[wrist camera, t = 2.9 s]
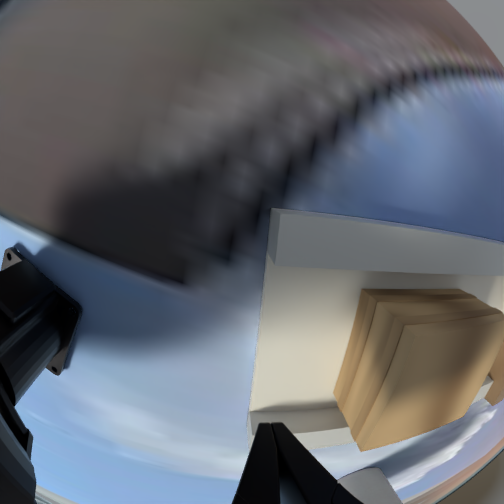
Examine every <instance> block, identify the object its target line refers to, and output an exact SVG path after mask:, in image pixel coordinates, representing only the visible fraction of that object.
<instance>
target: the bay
mask: <svg viewBox="0 0 504 504" xmlns="http://www.w3.org/2000/svg"><path fill="white" fill-rule="evenodd" d="M361 289H461V290H463V291H465V292H467V293H468V294H469V293H470V294H472V295H474V296H476V297H477V299H479V300H481V301H482V302H484V303H486V304H488V305H489V306H491V307H493V308H497V309H498V310H500V311H502V312H503V314H504V242H501V241H496V240H491V239H487V238H482V237H477V236H472V235H466V234H461V233H456V232H450V231H444V230H439V229H433V228H427V227H421V226H415V225H408V224H402V223H395V222H388V221H381V220H374V219H367V218H359V217H351V216H343V215H335V214H326V213H317V212H308V211H299V210H289V209H278V208H271V212H270V222H269V232H268V242H267V252H266V262H265V272H264V281H263V291H262V300H261V309H260V318H259V327H258V336H257V345H256V353H255V362H254V370H253V379H252V387H251V395H250V403H249V411H248V419H247V434H248V445H249V452H250V449H251V446H252V443H253V440H254V437H255V433H256V430H257V427H258V424H259V423H260V422H269V423H270V424H271V422H283V423H284V424H285V425H286V427H287V428H288V429H289V430H290V431H291V432H292V433H293V435H294V436H295V437H296V438H297V439H298V440H299V441H300V442H301V443H302V445H303V446H304V447H305V448H306V449H307V450H309V449H317V448H325V447H331V446H338V445H343V444H349V443H354V442H356V441H354V440H353V438H352V435H351V433H350V431H351V430H350V428H349V426H348V424H347V422H346V420H345V417H344V415H343V413H342V412H340V410H339V407H338V405H337V400H336V398H335V396H334V394H333V391H334V388H335V385H336V382H337V379H338V376H339V372H340V369H341V366H342V363H343V359H344V356H345V353H346V349H347V346H348V342H349V338H350V335H351V331H352V327H353V323H354V319H355V315H356V311H357V307H358V302H359V298H360V293H361ZM483 398H485V399H486V400H487V401H488V402H489V403H490V404H491V405H492V406H494V405H495V404H497V403H499V402H500V401H502V400H503V398H504V340H503V342H502V345H501V347H500V349H499V352H498V354H497V356H496V358H495V360H494V363H493V365H492V367H491V369H490V371H489V373H488V375H487V377H486V379H485V381H484V382H483V384H482V386H481V388H480V390H479V391H478V393H477V395H476V397H475V398H474V400H473V402H472V403H471V404H473V403H475V402H477V401H479V400H481V399H483Z"/></svg>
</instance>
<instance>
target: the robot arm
mask: <svg viewBox="0 0 504 504" xmlns="http://www.w3.org/2000/svg"><path fill="white" fill-rule="evenodd" d="M11 256H12V257H11ZM72 308H73V309H74V310H75V312H76V313H74V312H73V311H72ZM81 315H82V308H81V306H80V305H79V304H78V303H77V302H76V301H75V300H74V299H72V298H71V297H70V296H68V295H67V294H66V293H65V292H63V291H62V290H61V289H60V288H58V287H57V286H56V285H55V284H54V283H53V282H51V281H50V280H49V279H48V278H47V277H45V276H44V275H43V274H42V273H41V272H40V271H39V270H37V269H36V268H35V267H34V266H33V265H32V264H31V263H30V262H29V261H28V260H26V259H25V258H24V257H23V256H22V255H21V254H20V253H19V252H18V251H17V250H16V249H15V248H13V247H10V248H7V249H6V250H5V253H4V258H3V262H2V267H1V271H0V504H37V503H36V500H35V490H36V478H35V473H34V467H33V465H32V463H31V451H32V443H33V436H32V434H31V432H30V431H29V429H27V428H26V427H25V425H24V423H23V422H22V420H21V418H20V416H19V415H18V413H17V411H16V409H15V405H16V404H17V403H18V401H19V400H20V399H21V397H22V396H23V395H24V394H25V392H26V391H27V390H28V388H29V387H30V386H31V385H32V383H33V382H34V381H35V380H36V378H37V377H38V376H39V375H40V373H41V372H42V371H43V370H44V369H45V367H46V368H47V369H48V370H49V371H51V372H52V373H53V374H55V375H60V374H61V372H62V371H63V368H64V365H65V362H66V358H67V355H68V352H69V349H70V346H71V343H72V340H73V337H74V334H75V331H76V329H77V326H78V323H79V320H80V318H81ZM232 504H364V503H362V502H361V501H360V500H358V499H357V498H356V497H354V496H353V495H352V494H351V493H350V492H349V491H348V490H346V489H345V488H344V487H343V486H342V485H341V484H340V483H338V481H337V480H336V479H335V478H334V477H333V476H332V475H331V474H330V473H329V472H328V471H327V470H326V469H325V468H324V467H323V466H322V465H321V464H320V463H319V462H318V461H317V460H316V458H315V457H314V456H313V455H312V454H311V453H310V452H309V451H308V450H307V449H306V448H305V447H304V446H303V445H302V443H301V442H300V441H299V440H298V439H297V438H296V437H295V436H294V435H293V433H292V432H291V431H290V430H289V429H288V428H287V427H286V425H285V424H284V423H283V422H271V424H270V423H269V422H260V423H259V424H258V427H257V430H256V433H255V437H254V440H253V443H252V446H251V449H250V452H249V455H248V458H247V462H246V465H245V468H244V470H243V473H242V476H241V479H240V482H239V485H238V488H237V491H236V494H235V496H234V499H233V501H232Z"/></svg>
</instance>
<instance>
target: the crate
mask: <svg viewBox="0 0 504 504" xmlns="http://www.w3.org/2000/svg"><path fill="white" fill-rule="evenodd" d="M503 340H504V314H503V312H502V311H500V310H498V309H497V308H493V307H491V306H489V305H488V304H486V303H484V302H482V301H481V300H479V299H477V297H476V296H474V295H472V294H470V293H469V294H468V293H467V292H465V291H463V290H461V289H361V293H360V298H359V302H358V307H357V311H356V315H355V319H354V323H353V327H352V331H351V335H350V338H349V342H348V346H347V349H346V353H345V356H344V359H343V363H342V366H341V369H340V372H339V376H338V379H337V382H336V385H335V388H334V391H333V394H334V396H335V398H336V400H337V405H338V407H339V410H340V412H342V413H343V415H344V417H345V420H346V422H347V424H348V426H349V428H350V430H351V431H350V433H351V435H352V438H353V440H354V441H356V443H357V445H358V447H359V449H360V452H362V451H367V450H371V449H375V448H379V447H382V446H386V445H389V444H393V443H396V442H399V441H403V440H406V439H409V438H412V437H415V436H417V435H420V434H423V433H426V432H428V431H431V430H434V429H436V428H439V427H441V426H443V425H446V424H448V423H450V422H453V421H455V420H457V419H459V418H461V417H463V416H464V415H465V413H466V412H467V410H468V408H469V407H470V405H471V403H472V402H473V400H474V398H475V397H476V395H477V393H478V391H479V390H480V388H481V386H482V384H483V382H484V381H485V379H486V377H487V375H488V373H489V371H490V369H491V367H492V365H493V363H494V360H495V358H496V356H497V354H498V352H499V349H500V347H501V345H502V342H503Z"/></svg>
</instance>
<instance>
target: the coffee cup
mask: <svg viewBox="0 0 504 504" xmlns="http://www.w3.org/2000/svg"><path fill="white" fill-rule="evenodd" d="M337 481H338V483H340V484H341V485H342V486H343V487H344V488H345V489H346V490H348V491H349V492H350V493H351V494H352V495H353V496H354V497H356V498H357V499H358V500H360V501H361V502H362V503H364V504H403V503H402V502H401V500H400V499H399V497H398V495H397V494H396V492H395V491H394V489H393V488H392V486H391V485H390V483H389V482H388V480H387V478H386V477H385V475H384V474H383V472H382V471H381V469H380V468H367V469H363V470H359V471H356V472H354V473H351V474H349V475H346V476H344V477H342V478H340V479H339V480H337Z"/></svg>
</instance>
